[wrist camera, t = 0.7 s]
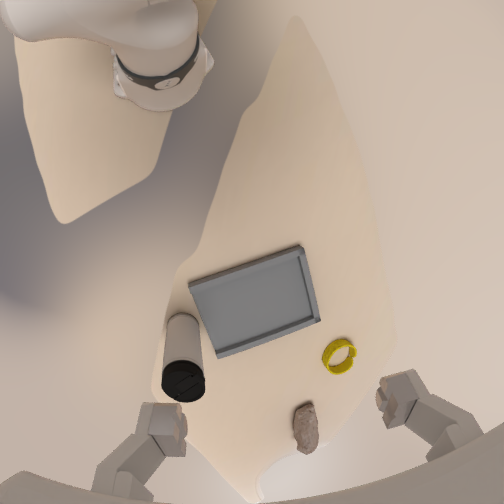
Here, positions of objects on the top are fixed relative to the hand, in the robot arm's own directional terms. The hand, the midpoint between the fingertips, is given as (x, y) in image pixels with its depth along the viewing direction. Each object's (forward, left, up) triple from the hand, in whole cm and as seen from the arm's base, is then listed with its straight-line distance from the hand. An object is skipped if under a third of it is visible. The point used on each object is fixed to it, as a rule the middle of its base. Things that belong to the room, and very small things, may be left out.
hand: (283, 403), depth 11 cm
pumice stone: (+54, +7, -45) cm, 71 cm away
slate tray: (+16, +4, -45) cm, 48 cm away
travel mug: (+16, -11, -45) cm, 49 cm away
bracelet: (+36, +18, -45) cm, 61 cm away
